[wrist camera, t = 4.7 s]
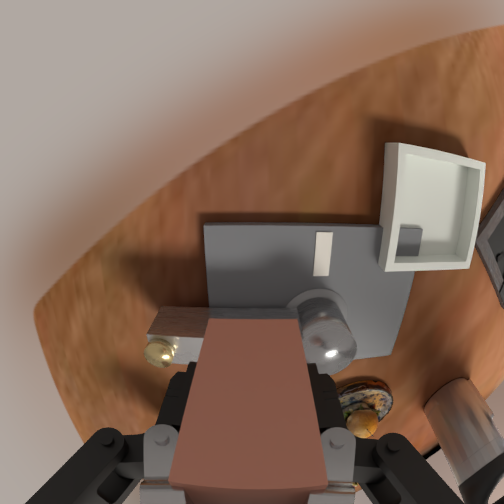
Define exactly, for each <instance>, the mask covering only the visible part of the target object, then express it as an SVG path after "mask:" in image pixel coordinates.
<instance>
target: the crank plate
mask: <svg viewBox="0 0 504 504" xmlns="http://www.w3.org/2000/svg"><path fill="white" fill-rule="evenodd" d="M422 232H423V229H421V228H406V227H400V230H399V237H398V244H397V250H396V255H395V256H418V255H419V249H420V244H421V238H422ZM382 235H383V227H382V226H380V225H373V224H341V223H287V222H212V223H205V224H204V243H205V259H206V273H207V286H208V298H209V308H296V307H297V306H298V305H299V304H301V303H302V302H304V301H306V300H308V299H311V298H315V297H324V298H328V299H331V300H333V301H334V302H335V303H337V305H338V306H339V308H340V310H341V312H342V314H343V316H344V318H345V320H346V322H347V324H348V326H349V328H350V331H351V333H352V335H353V337H354V339H355V341H356V344H357V352H356V355H355V357H354V359H363V358H371V357H379V356H386V355H391V352H392V350H393V347H394V344H395V341H396V338H397V335H398V332H399V329H400V325H401V322H402V319H403V316H404V312H405V309H406V305H407V301H408V298H409V294H410V290H411V286H412V282H413V278H414V273H415V271H393V272H385V271H384V270H383V269H382V268H381V267H380V266H379V265H378V261H379V255H380V249H381V242H382ZM354 359H353V360H354Z"/></svg>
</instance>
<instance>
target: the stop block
mask: <svg viewBox="0 0 504 504" xmlns="http://www.w3.org/2000/svg"><path fill="white" fill-rule="evenodd" d="M168 482H169V483H170V485H171V486H178V487H184V489H185V491H186V492H187V494H188V495H189V497H190V498H191V500H192V501H193V503H194V504H303V503H304V501H305V500H306V498H307V496H308V494H309V492H310V491H311V490H320V489H326V487H327V486H328V479H327V473H326V466H325V460H324V454H323V448H322V443H321V437H320V431H319V426H318V420H317V415H316V409H315V404H314V399H313V393H312V388H311V383H310V378H309V373H308V368H307V363H306V358H305V353H304V348H303V343H302V338H301V334H300V329H299V324H298V320H297V319H214V318H209V321H208V324H207V328H206V332H205V335H204V339H203V343H202V346H201V350H200V354H199V358H198V361H197V365H196V369H195V373H194V376H193V380H192V384H191V388H190V392H189V396H188V400H187V404H186V408H185V412H184V416H183V420H182V424H181V428H180V432H179V436H178V440H177V444H176V448H175V452H174V457H173V461H172V465H171V469H170V474H169V478H168Z"/></svg>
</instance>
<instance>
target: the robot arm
mask: <svg viewBox="0 0 504 504" xmlns="http://www.w3.org/2000/svg"><path fill="white" fill-rule="evenodd" d="M196 365H197V362H193V361H190V362H189V364H188V368H187V371H186V372H177V373H176V374H175V375H174V376H173V377H172V378H171V380H170V383H169V386H168V390H167V392H166V395H165V397H164V400H163V403H162V406H161V409H160V413H159V416H158V419H157V422H156V424H155V426H152V427H150V428H149V429H148V430H147V431H146V432H145V433H143V434H138V435H122V434H121V433H120V432H119V431H118V430H116V429H114V428H102V429H100V430H98V431H97V432H95V433H94V434H93V436H92V437H91V438H90V439H89V440H88V441H87V442H86V443H85V444H84V445H83V446H82V447H81V448H80V449H79V450H78V451H77V452H76V453H75V454H74V455H73V456H72V457H71V458H70V459H69V460H68V461H67V462H66V463H65V464H64V465H63V466H62V467H61V468H60V469H59V470H58V471H57V472H56V473H55V474H54V475H53V476H52V477H51V478H50V479H49V480H48V481H47V482H46V483H45V484H44V485H43V486H42V487H41V488H40V489H39V490H38V491H37V492H36V493H35V494H34V495H33V496H32V497H31V498H30V499H29V500H28V501H27V502H26V503H25V504H122V503H123V502H124V501H125V499H126V498H127V497H128V496H129V494H130V493H131V492H132V491H133V489H134V488H135V487H136V485H137V484H138V483H139V482H140V480H141V479H142V478H144V481H143V482H141V484H140V504H194V503H193V501H192V500H191V498H190V497H189V495H188V494H187V492H186V491H185V489H184V487H178V486H171V485H170V483H169V482H168V478H169V474H170V469H171V465H172V461H173V457H174V452H175V448H176V444H177V440H178V436H179V432H180V428H181V424H182V420H183V416H184V412H185V408H186V404H187V400H188V396H189V392H190V388H191V384H192V380H193V376H194V373H195V369H196ZM307 368H308V373H309V378H310V383H311V388H312V393H313V399H314V404H315V409H316V415H317V420H318V426H319V431H320V437H321V443H322V448H323V454H324V460H325V466H326V473H327V479H328V486H327V487H326V489H320V490H311V491H310V492H309V494H308V496H307V498H306V500H305V501H304V503H303V504H354V500H355V488H354V487H353V485H352V482H357V483H359V485H360V486H361V488H362V489H363V491H364V492H365V493H366V495H367V496H368V498H369V499H370V500H371V502H372V503H373V504H464V503H465V504H488V499H489V497H490V495H491V493H492V492H493V490H494V489H495V487H496V486H497V484H498V483H499V482H500V480H501V479H502V478H503V477H504V439H503V437H502V435H501V434H500V432H499V430H498V428H497V427H496V425H495V424H494V422H493V420H492V418H493V416H494V415H493V412H492V411H491V409H490V408H489V406H488V405H487V403H486V402H485V400H484V398H483V397H482V396H481V394H480V393H479V391H478V390H477V388H476V387H475V385H474V384H473V382H472V381H471V380H466V379H464V378H459V379H456V380H454V381H451V382H450V383H448V384H446V385H445V386H443V387H442V388H441V389H440V390H438V391H437V392H436V393H435V394H434V395H433V396H432V397H431V398H430V399H429V401H428V402H427V403H426V405H425V408H424V413H425V415H426V417H427V419H428V421H429V423H430V425H431V427H432V429H433V431H434V433H435V435H436V437H437V439H438V442H439V444H440V446H441V448H442V450H443V452H444V455H445V457H446V459H447V461H448V464H449V466H450V468H451V471H452V473H453V475H454V478H455V480H456V483H457V485H458V487H459V490H460V493H461V495H462V498H463V501H464V503H463V502H462V501H461V499H460V498H459V497H458V496H457V495H456V494H455V493H454V492H453V490H452V489H451V488H450V487H449V486H448V485H447V484H446V483H445V482H444V480H442V478H441V477H440V476H439V475H438V474H437V472H436V471H435V470H434V469H433V468H432V467H431V466H430V465H429V463H428V462H427V461H426V460H425V459H424V458H423V457H422V456H421V454H420V453H419V452H418V451H417V450H416V449H415V448H414V447H413V445H412V444H411V443H410V442H409V441H408V440H407V439H406V438H405V437H404V436H403V435H401V434H398V433H388V434H385V435H383V436H382V437H381V438H380V439H379V440H376V439H365V438H360V437H357V436H355V435H354V434H353V433H352V432H350V431H349V430H348V428H347V426H346V422H345V418H344V415H343V411H342V407H341V404H340V400H339V396H338V393H337V389H336V386H335V382H334V380H333V379H332V378H331V377H330V376H329V375H328V374H327V373H325V374H319V373H318V369H317V365H316V363H307ZM493 504H504V496H503V497H502V498H500V499H499V500H497V501H496V502H495V503H493Z"/></svg>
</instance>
